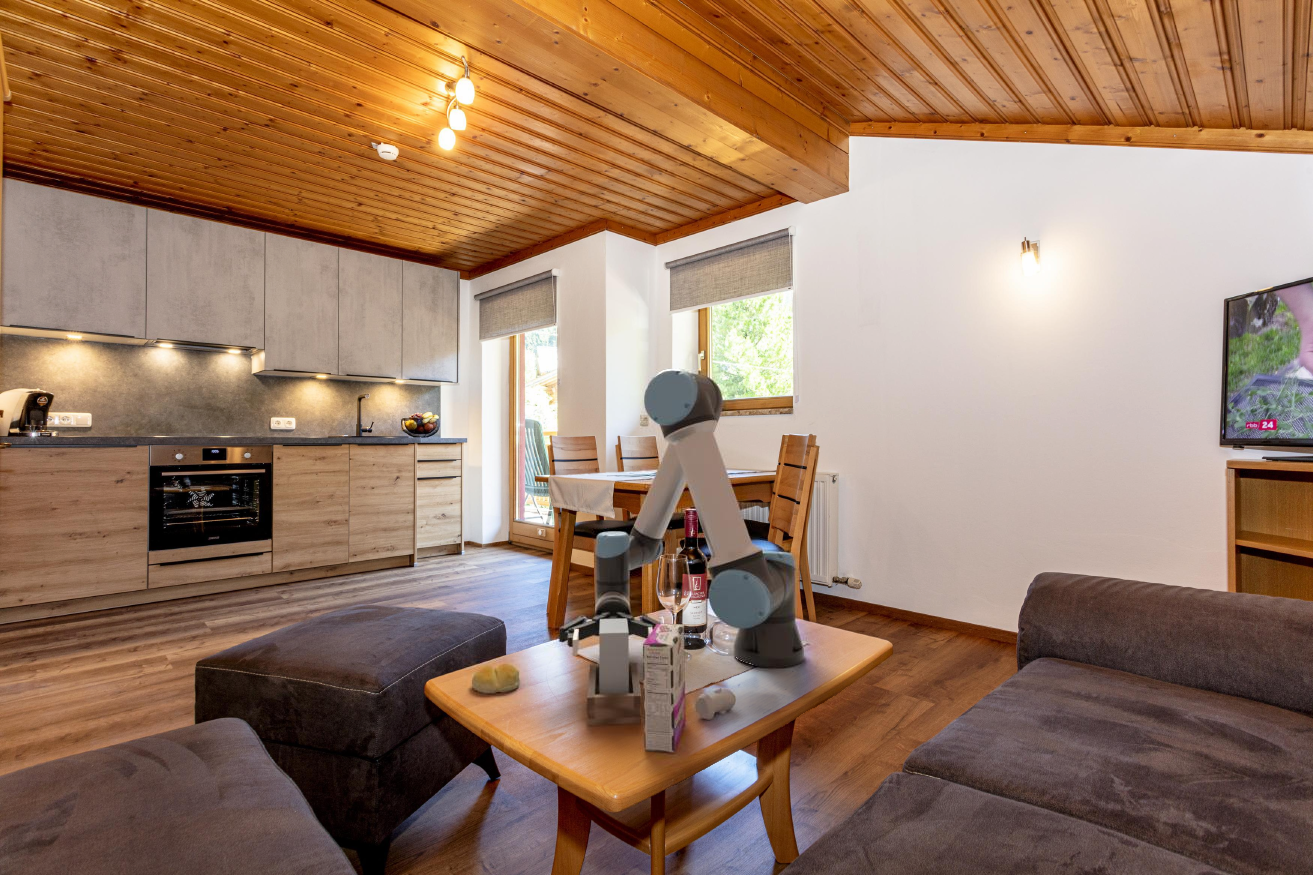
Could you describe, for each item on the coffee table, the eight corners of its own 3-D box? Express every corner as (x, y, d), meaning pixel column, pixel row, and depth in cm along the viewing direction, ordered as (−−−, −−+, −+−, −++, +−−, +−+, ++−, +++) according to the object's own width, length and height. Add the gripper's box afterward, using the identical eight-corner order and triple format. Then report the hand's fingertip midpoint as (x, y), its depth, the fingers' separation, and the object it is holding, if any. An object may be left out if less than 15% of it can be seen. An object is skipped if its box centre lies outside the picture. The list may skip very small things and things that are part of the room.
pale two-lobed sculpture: (722, 710, 113) (742, 710, 110) (689, 721, 108) (709, 722, 104) (717, 685, 114) (737, 684, 111) (684, 695, 109) (704, 694, 106)
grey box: (627, 688, 117) (626, 618, 118) (628, 708, 109) (628, 632, 109) (600, 689, 117) (599, 619, 117) (599, 709, 108) (599, 633, 108)
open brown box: (637, 686, 121) (636, 663, 121) (641, 722, 105) (641, 695, 105) (589, 688, 120) (589, 664, 120) (587, 724, 104) (587, 697, 104)
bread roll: (473, 681, 125) (473, 660, 125) (519, 677, 127) (519, 657, 127) (469, 697, 117) (469, 675, 117) (519, 693, 119) (519, 671, 119)
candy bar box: (656, 719, 106) (656, 622, 107) (686, 722, 105) (685, 623, 106) (641, 751, 95) (641, 642, 96) (674, 754, 94) (674, 644, 95)
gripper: (672, 630, 133) (684, 665, 112) (552, 633, 131) (541, 670, 110) (672, 595, 133) (684, 623, 112) (552, 597, 131) (541, 626, 110)
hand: (613, 646), depth 111 cm, fingers open, 13 cm apart
